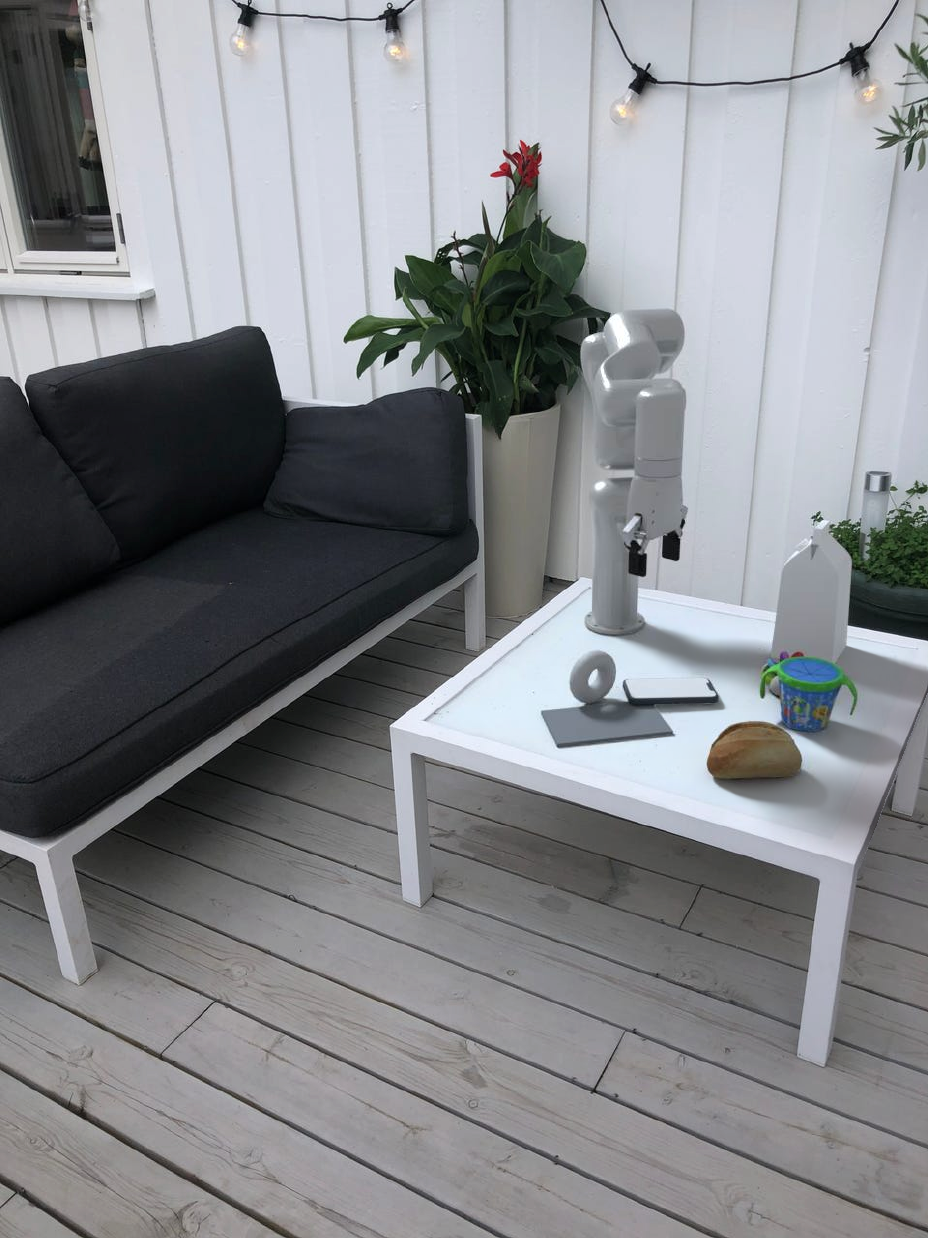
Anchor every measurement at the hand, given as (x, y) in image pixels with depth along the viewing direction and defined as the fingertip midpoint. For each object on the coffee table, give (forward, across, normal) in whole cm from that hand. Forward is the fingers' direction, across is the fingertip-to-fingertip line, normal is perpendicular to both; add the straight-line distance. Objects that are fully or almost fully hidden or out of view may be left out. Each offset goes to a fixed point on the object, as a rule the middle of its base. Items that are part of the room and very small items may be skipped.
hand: (654, 566), depth 168 cm
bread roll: (+27, +7, +24) cm, 37 cm away
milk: (+27, -40, +10) cm, 49 cm away
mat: (+27, +9, -2) cm, 28 cm away
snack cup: (+27, -13, +23) cm, 38 cm away
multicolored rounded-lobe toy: (+27, -23, +14) cm, 38 cm away
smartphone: (+26, -6, 0) cm, 27 cm away
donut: (+27, +4, -9) cm, 29 cm away
